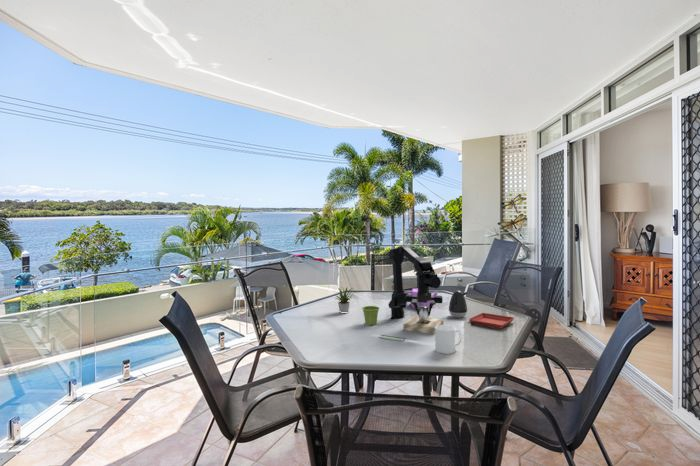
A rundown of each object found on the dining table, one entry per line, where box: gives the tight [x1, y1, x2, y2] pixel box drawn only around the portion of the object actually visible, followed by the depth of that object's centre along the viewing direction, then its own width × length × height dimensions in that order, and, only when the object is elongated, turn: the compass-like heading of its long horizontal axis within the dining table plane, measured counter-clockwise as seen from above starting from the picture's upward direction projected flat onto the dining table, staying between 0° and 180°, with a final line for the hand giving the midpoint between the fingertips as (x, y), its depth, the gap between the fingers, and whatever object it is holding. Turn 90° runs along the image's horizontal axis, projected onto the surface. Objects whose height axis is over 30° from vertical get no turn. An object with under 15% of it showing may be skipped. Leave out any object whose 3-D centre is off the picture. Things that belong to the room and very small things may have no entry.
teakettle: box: [405, 288, 439, 309], centre depth 242 cm, size 17×17×12 cm
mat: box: [378, 334, 407, 342], centre depth 182 cm, size 12×12×1 cm
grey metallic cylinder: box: [418, 306, 430, 324], centre depth 192 cm, size 5×5×8 cm
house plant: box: [333, 286, 355, 313], centre depth 229 cm, size 14×14×16 cm
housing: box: [402, 315, 445, 335], centre depth 192 cm, size 16×16×4 cm
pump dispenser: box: [448, 290, 468, 319], centre depth 215 cm, size 10×10×15 cm
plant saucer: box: [468, 312, 515, 330], centre depth 200 cm, size 18×18×3 cm
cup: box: [434, 324, 463, 355], centre depth 162 cm, size 8×12×10 cm
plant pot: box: [361, 305, 380, 326], centre depth 204 cm, size 9×9×9 cm
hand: (423, 315), depth 192 cm, fingers closed on grey metallic cylinder, 5 cm apart
